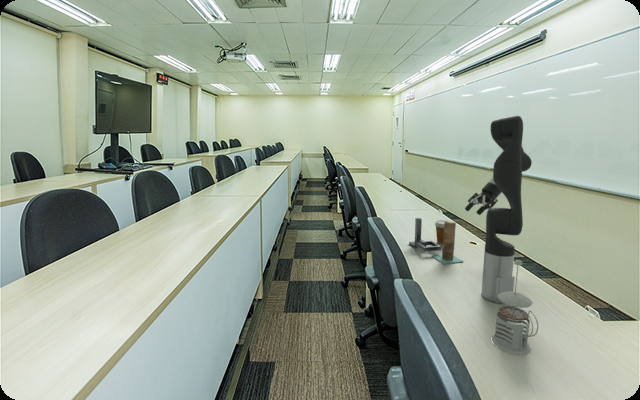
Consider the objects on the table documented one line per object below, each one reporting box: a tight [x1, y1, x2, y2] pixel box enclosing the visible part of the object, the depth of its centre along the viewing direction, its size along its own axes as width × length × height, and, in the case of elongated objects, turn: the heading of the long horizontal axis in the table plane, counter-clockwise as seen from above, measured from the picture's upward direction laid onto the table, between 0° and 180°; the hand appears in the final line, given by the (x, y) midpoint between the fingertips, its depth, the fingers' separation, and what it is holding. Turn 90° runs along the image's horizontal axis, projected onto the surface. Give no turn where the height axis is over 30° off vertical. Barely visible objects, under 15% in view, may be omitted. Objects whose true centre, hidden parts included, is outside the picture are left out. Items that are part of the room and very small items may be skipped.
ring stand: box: [408, 217, 442, 253], centre depth 162 cm, size 18×9×16 cm, turn 10°
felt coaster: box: [431, 254, 464, 265], centre depth 149 cm, size 10×10×1 cm
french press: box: [491, 259, 539, 356], centre depth 84 cm, size 10×12×25 cm
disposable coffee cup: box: [434, 219, 446, 245], centre depth 173 cm, size 10×10×12 cm
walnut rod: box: [441, 220, 457, 260], centre depth 147 cm, size 5×5×18 cm
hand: (471, 211), depth 147 cm, fingers open, 8 cm apart
